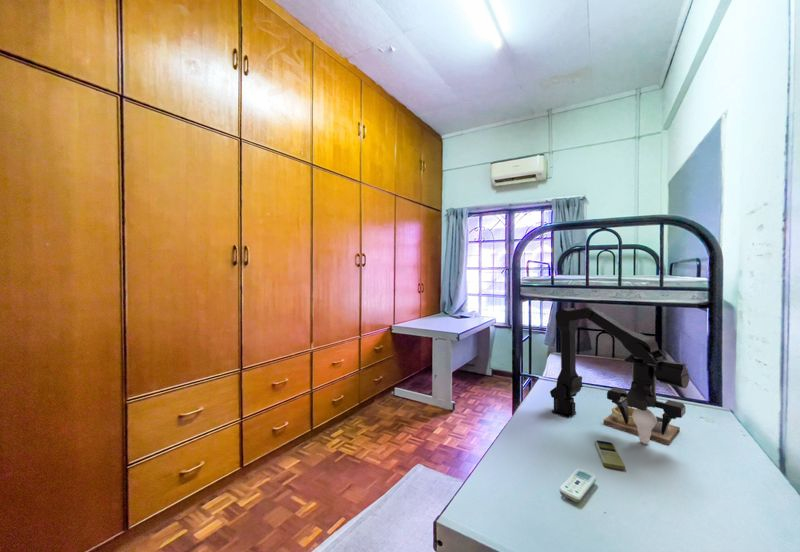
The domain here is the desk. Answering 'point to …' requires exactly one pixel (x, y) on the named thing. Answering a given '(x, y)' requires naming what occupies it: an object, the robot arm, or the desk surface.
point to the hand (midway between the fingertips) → (644, 428)
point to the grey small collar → (659, 425)
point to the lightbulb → (644, 423)
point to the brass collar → (619, 418)
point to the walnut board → (655, 435)
